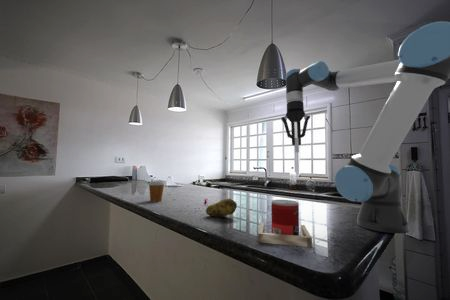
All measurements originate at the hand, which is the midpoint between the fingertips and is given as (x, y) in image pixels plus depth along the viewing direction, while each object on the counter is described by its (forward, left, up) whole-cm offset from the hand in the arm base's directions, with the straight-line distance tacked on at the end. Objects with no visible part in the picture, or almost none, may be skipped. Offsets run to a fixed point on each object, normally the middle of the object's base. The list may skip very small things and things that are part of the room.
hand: (296, 152), depth 95 cm
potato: (+32, +12, -29) cm, 45 cm away
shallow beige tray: (+8, +31, -29) cm, 43 cm away
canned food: (+7, +32, -29) cm, 44 cm away
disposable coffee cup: (+80, -16, -29) cm, 86 cm away
